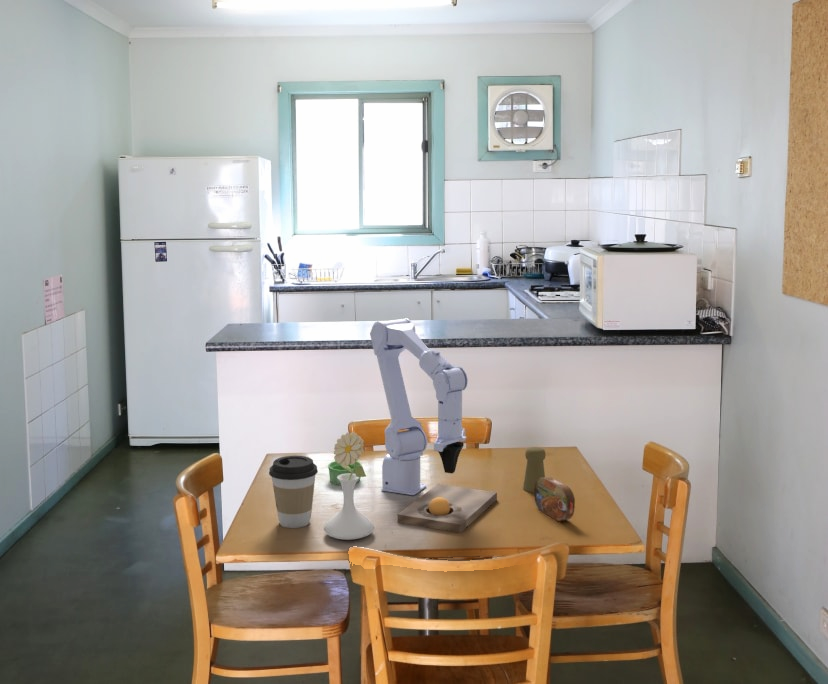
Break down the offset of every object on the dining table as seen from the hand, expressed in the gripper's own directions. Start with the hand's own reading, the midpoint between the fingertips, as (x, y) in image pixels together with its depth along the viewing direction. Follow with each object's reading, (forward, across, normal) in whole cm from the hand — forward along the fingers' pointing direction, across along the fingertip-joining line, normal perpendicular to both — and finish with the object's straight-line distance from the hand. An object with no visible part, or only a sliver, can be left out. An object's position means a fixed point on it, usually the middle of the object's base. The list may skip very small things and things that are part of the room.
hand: (449, 472), depth 241 cm
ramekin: (+10, +8, +34) cm, 36 cm away
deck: (+9, -1, 0) cm, 9 cm away
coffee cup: (+10, -24, +29) cm, 39 cm away
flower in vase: (+10, -25, +13) cm, 30 cm away
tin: (+10, +7, -24) cm, 27 cm away
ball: (+7, -6, 0) cm, 9 cm away
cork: (+10, +23, -14) cm, 28 cm away
